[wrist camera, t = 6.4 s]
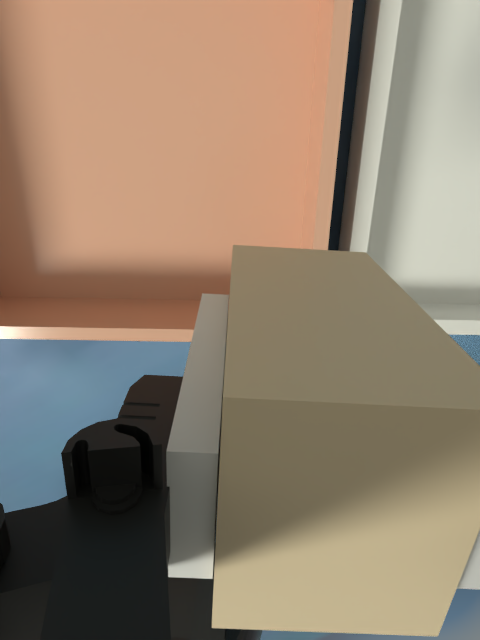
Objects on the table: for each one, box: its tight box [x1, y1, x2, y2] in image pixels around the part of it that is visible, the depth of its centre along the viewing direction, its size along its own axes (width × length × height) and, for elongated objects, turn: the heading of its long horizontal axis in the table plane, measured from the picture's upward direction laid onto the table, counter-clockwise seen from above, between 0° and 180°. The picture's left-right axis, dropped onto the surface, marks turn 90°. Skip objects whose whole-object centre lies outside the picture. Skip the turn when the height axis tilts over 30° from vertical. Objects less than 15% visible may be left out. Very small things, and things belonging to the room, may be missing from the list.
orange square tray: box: [0, 0, 353, 342], centre depth 23 cm, size 22×22×5 cm
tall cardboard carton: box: [212, 245, 480, 636], centre depth 10 cm, size 5×4×8 cm
